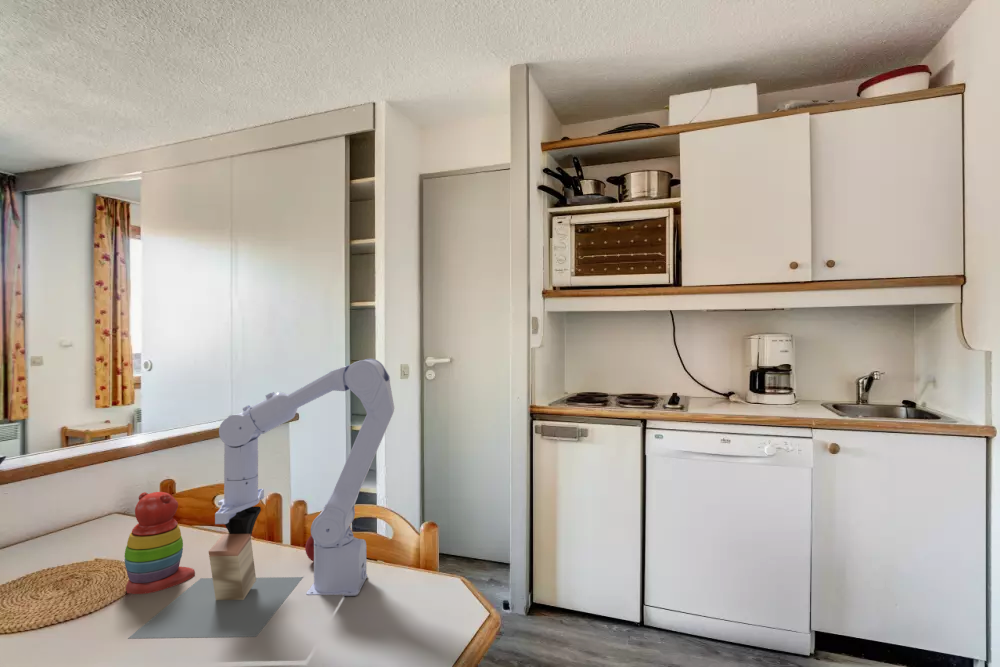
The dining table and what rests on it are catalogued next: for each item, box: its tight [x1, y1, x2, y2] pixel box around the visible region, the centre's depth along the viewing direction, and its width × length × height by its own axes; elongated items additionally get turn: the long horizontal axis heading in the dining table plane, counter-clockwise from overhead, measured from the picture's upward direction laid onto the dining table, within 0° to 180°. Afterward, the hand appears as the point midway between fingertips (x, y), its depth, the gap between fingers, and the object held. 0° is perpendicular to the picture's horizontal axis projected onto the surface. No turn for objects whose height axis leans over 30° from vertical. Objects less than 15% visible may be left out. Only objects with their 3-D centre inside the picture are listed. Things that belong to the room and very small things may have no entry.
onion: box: [304, 534, 314, 563], centre depth 107 cm, size 6×6×8 cm
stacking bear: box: [124, 491, 196, 595], centre depth 99 cm, size 11×10×18 cm
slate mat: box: [127, 576, 304, 640], centre depth 90 cm, size 20×20×1 cm
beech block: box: [208, 533, 257, 600], centre depth 93 cm, size 5×5×10 cm
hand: (241, 548), depth 96 cm, fingers closed
